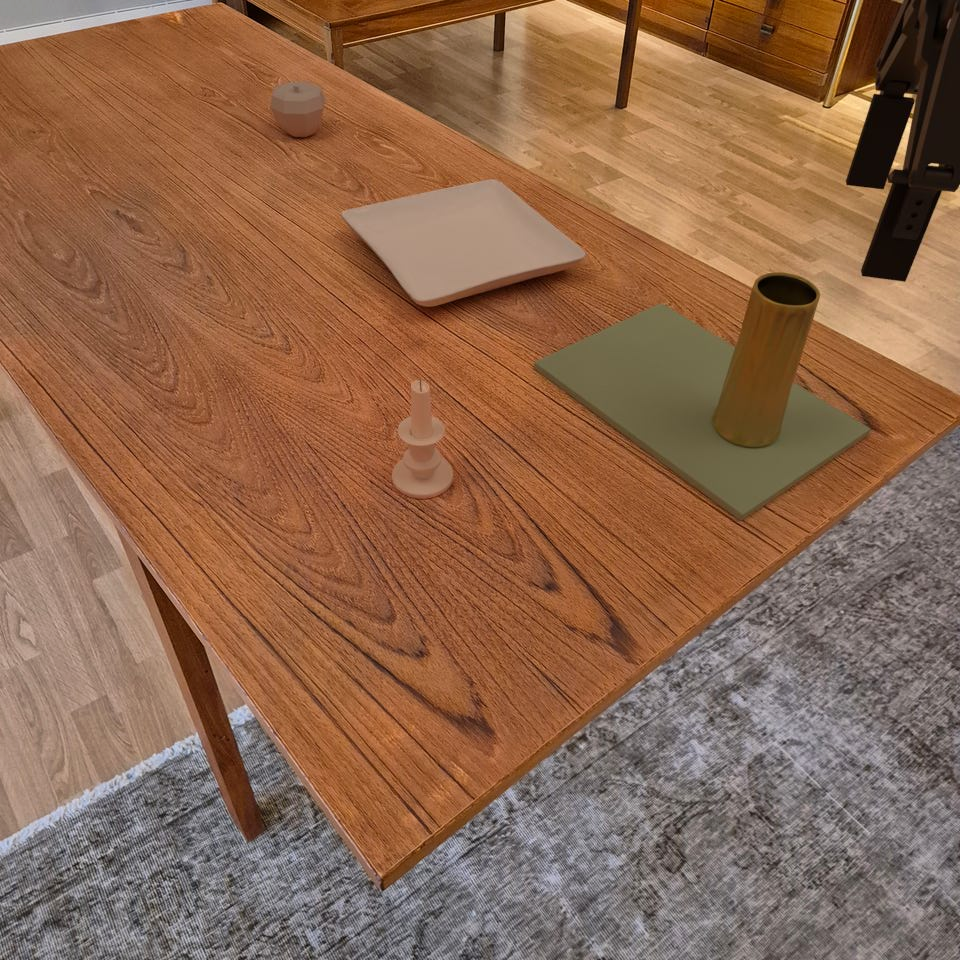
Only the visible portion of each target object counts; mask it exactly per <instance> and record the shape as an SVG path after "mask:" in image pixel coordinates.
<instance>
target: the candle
mask: <svg viewBox="0 0 960 960" xmlns="http://www.w3.org/2000/svg"><path fill="white" fill-rule="evenodd" d="M431 399H432V398H431V388H430V385H429V383H428V382H426V381H424V380H421V379H420V380H419V379H418V380H417V379H416V380H414V381H412V382H411V384H410V416H408V417H406V418H404V419H403V420H401V422H400V423H399V424H398V426H397V429H396V430H397V435H398V437H399V439H400V440H401V441H402V442H404V443H405V444H407V447H408V448H407V449H406V450H405V451H404V453H403V455H402V458H401V459H400V460H398V462H397V463H395V464H394V466H393V469H392V471H391V481H392V485H393V486H394V487H395V489H396V490H397V491H398V492H399V493H401V494H402V495H405V496H407V497H408V498H412V499H418V500H419V499H424V500H426V499H430V498H435V497H438V496H440V495H442V494H443V493H445V492H447V491H448V490H449V488H451V486H452V483H453V482H454V470H453V467H452V465H451V464H450V462H448V461H447V460H446V459H445V458H443V457H442V453H441V452H440V450H439V449H438V448H436V444H437V443H438V442H440V441H441V440H442V439H443V438H444V437H445V434H446V427H445V424H444V422H443V421H442V420H440V419H439V418H438V417H435V416H433V415H432V400H431Z"/></svg>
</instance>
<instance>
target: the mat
mask: <svg viewBox="0 0 960 960" xmlns="http://www.w3.org/2000/svg"><path fill="white" fill-rule="evenodd" d="M735 347H736V346H734V345H733V344H731V343H730V342H728V341H726V340H724V339H722V338H721V337H719V336H718V335H716V334H714V333H713V332H711V331H710V330H708V329H706V328H705V327H703V326H701V325H699V324H698V323H696V322H694V321H693V320H691V319H689V318H687V317H686V316H684V315H683V314H681V313H680V312H678V311H676V310H675V309H673V308H671V307H669V306H668V305H667V304H665V303H663V302H659V303H657V304H654V305H653V306H651V307H648V308H646V309H644V310H642V311H639V312H638V313H635V314H634V315H633V314H632V315H631V316H629V317H627V318H625V319H624V320H621V321H618V322H616V323H614V324H612V325H610V326H607V327H605V328H603V329H602V330H600V331H597V332H595V333H593V334H591V335H589V336H586V337H585V338H582V339H579V340H578V341H576V342H574V343H572V344H569V345H567V346H566V347H562V348H561V349H559V350H557V351H554V352H552V353H549V354H548V355H546V356H544V357H542V358H540V359H538V360H535V361H534V362H533V369H534V370H535V371H536V372H538V373H540V375H542V376H543V377H545V379H547V380H549V381H550V382H551V383H553V385H556V386H557V387H558V388H559V389H561V390H562V391H564V392H565V393H566V394H567V395H569V396H570V397H572V398H573V399H574V400H575V401H577V402H579V404H581V405H583V407H585V408H586V409H588V410H589V411H591V412H592V413H593V414H594V415H596V416H598V418H600V419H601V420H603V421H604V422H605V423H607V424H608V425H610V426H611V427H612V428H614V429H615V430H617V431H618V432H619V433H621V434H622V435H623V436H624V437H626V438H627V439H629V440H630V441H632V442H633V443H634V444H636V445H637V447H640V448H641V449H642V450H644V451H645V452H646V453H648V454H649V455H650V456H651V457H653V458H655V459H656V460H657V461H658V462H660V463H661V464H662V465H664V466H665V467H666V468H667V469H670V471H672V472H673V473H675V474H676V475H678V476H679V477H680V478H682V479H683V480H684V481H685V482H687V483H688V484H690V485H691V486H692V487H693V488H695V489H696V490H698V491H699V492H701V493H702V494H703V495H705V496H706V497H707V498H709V499H710V500H711V501H712V502H714V503H715V504H717V505H718V506H720V507H721V509H723V510H725V511H726V512H728V513H729V514H730V515H732V516H733V517H734V518H736V520H738V521H740V522H742V521H744V520H745V519H746V518H747V517H749V516H751V515H752V514H754V513H755V512H757V511H758V510H760V509H761V508H763V507H764V506H765V505H767V504H769V503H770V502H771V501H773V500H774V499H776V498H777V497H779V496H780V495H782V494H783V493H785V492H786V491H788V490H789V489H791V488H792V487H794V486H795V485H797V484H798V483H800V482H801V481H803V480H804V479H805V478H807V477H809V476H810V475H812V474H813V473H815V472H816V471H817V470H819V469H820V468H822V467H824V466H825V465H826V464H828V463H830V462H831V461H832V460H834V459H836V457H838V456H840V455H841V454H843V453H845V451H847V450H848V449H850V448H851V447H853V446H855V445H856V444H857V443H859V442H860V441H862V440H863V439H865V438H866V437H868V436H869V434H870V432H871V430H872V428H870V427H869V426H868V425H865V424H864V423H862V422H860V421H859V420H857V419H855V418H854V417H852V416H850V415H849V414H848V413H846V412H844V411H842V410H841V409H839V408H837V407H835V406H834V405H833V404H831V403H829V402H827V401H825V400H824V399H822V398H821V397H819V396H817V395H816V394H814V393H812V392H811V391H809V390H807V389H806V388H804V387H802V386H801V385H799V384H798V383H796V382H794V381H793V384H792V388H791V391H790V395H789V399H788V403H787V407H786V411H785V415H784V418H783V421H782V426H781V433H780V436H779V437H778V439H777V440H776V441H774V442H773V443H771V444H769V445H766V446H763V447H745V446H740V445H736V444H734V443H732V442H729V441H728V440H726V439H724V438H723V437H722V436H721V435H719V433H718V432H717V431H716V429H715V428H714V426H713V423H712V416H713V414H714V412H715V410H716V408H717V405H718V402H719V398H720V395H721V392H722V388H723V384H724V381H725V378H726V375H727V372H728V369H729V365H730V362H731V359H732V356H733V353H734V350H735Z"/></svg>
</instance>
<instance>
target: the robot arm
mask: <svg viewBox="0 0 960 960" xmlns="http://www.w3.org/2000/svg"><path fill="white" fill-rule="evenodd" d="M874 67H875V73H876V74H877V73H878V74H877V76H876V78H875V82H874V87H875V91H877V92H879V93H873V95H872V97H871V100H870V104H869V107H868V110H867V114H866V116H865V119H864V122H863V126H862V129H861V132H860V136H859V138H858V141H857V145H856V148H855V151H854V153H853V157H852V160H851V163H850V166H849V169H848V172H847V176H846V179H845V185H846V186H851V187H858V188H859V187H860V188H867V189H874V190H875V189H877V190H884V189H885V186H886V185H887V183H888V184H891V186H890V188H889V191H888V194H887V197H886V199H885V202H884V205H883V208H882V211H881V213H880V216H879V218H878V222H877V225H876V227H875V230H874V232H873V235H872V238H871V241H870V244H869V247H868V249H867V252H866V255H865V258H864V260H863V263H862V266H861V269H860V274H861V277H864V278H865V277H866V278H873V279H881V280H887V281H889V280H890V281H895V282H897V281H898V282H904V283H905V282H907V278H908V276H909V274H910V272H911V269H912V266H913V265H914V262H915V259H916V257H917V254H918V252H919V249H920V247H921V245H922V242H923V239H924V236H925V235H926V232H927V229H928V227H929V224H930V222H931V220H932V217H933V215H934V212H935V209H936V207H937V204H938V202H939V200H940V197H941V195H942V192H948V193H955V192H956V191H957V190H958V189H959V188H960V0H902V3H901V5H900V8H899V10H898V12H897V14H896V17H895V19H894V22H893V24H892V26H891V28H890V30H889V33H888V35H887V38H886V40H885V42H884V45H883V47H882V49H881V52H880V54H879V57H878V59H876V61H875V65H874ZM905 95H916V97H915V98H914V97H910V96H908V97H907V96H905ZM912 111H913V113H912ZM911 114H912V118H911V124H910V129H909V134H908V138H907V139H908V140H907V144H906V149H905V156H904V161H903V165H902V169H897V168H894V169H893V170H892V167H893V164H894V161H895V159H896V156H897V153H898V150H899V147H900V145H901V142H902V139H903V136H904V133H905V130H906V128H907V125H908V122H909V119H910V117H911ZM931 164H935V165H931ZM891 170H892V171H891Z"/></svg>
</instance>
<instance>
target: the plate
mask: <svg viewBox="0 0 960 960" xmlns="http://www.w3.org/2000/svg"><path fill="white" fill-rule="evenodd" d="M340 217H341V219H342V220H343V221H344V223H345V224H346V226H348V228H349V229H351V231H352V232H354V233H355V235H356V236H358V238H360V239H361V241H363V243H365V245H366V246H368V248H369V249H370V250H371V251H372V252H373V253H374V254H375V255H376V256H377V258H379V259H380V261H381V262H382V263H383V264H384V265H385V266H386V268H387V269H388V270H389V271H390V273H391V274H392V275H393V277H394V278H395V280H396V282H398V284H399V285H400V286H401V287H402V289H403V290H404V292H405V293H406V294H407V295H408V296H409V298H410V299H411V300H412V301H413V302H414V303H415V304H416V305H418V306H421V307H426V308H427V307H428V308H429V307H437V306H441V305H444V304H448V303H451V302H454V301H457V300H461V299H465V298H468V297H472V296H475V295H480V294H484V293H487V292H491V291H494V290H498V289H501V288H504V287H508V286H510V285H514V284H517V283H521V282H525V281H528V280H531V279H534V278H538V277H543V276H546V275H552V274H555V273H558V272H561V271H563V270H568V269H569V268H572V267H574V266H576V265H578V264H580V262H582V261H583V260H584V259H585V258H586V256H587V253H586V252H585V251H584V249H582V247H580V246H579V245H578V244H577V243H576V242H574V240H572V239H570V238H569V237H568V236H567V235H566V234H565V233H563V232H562V231H561V230H560V229H558V228H557V226H555V225H554V224H553V223H551V222H550V221H549V220H548V219H547V218H545V217H544V216H543V215H541V214H540V213H539V212H538V211H536V209H534V208H533V207H532V206H531V205H530V204H528V203H527V201H524V199H522V198H521V197H520V196H519V195H518V194H517V193H515V192H514V191H513V190H512V189H510V188H509V187H508V186H507V185H505V184H504V183H502V182H501V181H499V180H498V179H493V178H490V179H485V180H478V181H473V182H469V183H464V184H458V185H454V186H449V187H445V188H439V189H435V190H430V191H425V192H421V193H417V194H411V195H406V196H401V197H398V198H393V199H389V200H388V199H387V200H384V201H380V202H375V203H371V204H367V205H363V206H358V207H353V208H349V209H345V210H343V211H341V213H340Z"/></svg>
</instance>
